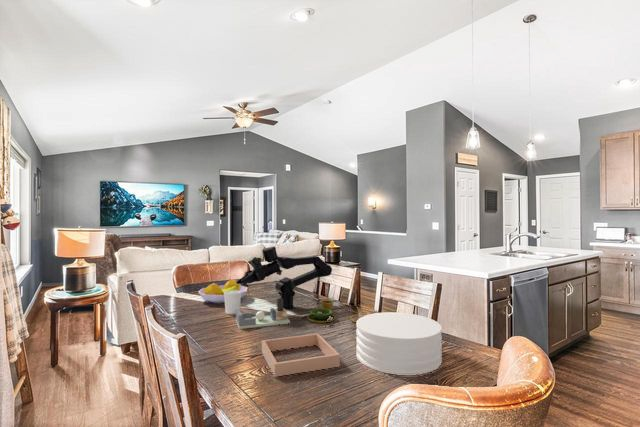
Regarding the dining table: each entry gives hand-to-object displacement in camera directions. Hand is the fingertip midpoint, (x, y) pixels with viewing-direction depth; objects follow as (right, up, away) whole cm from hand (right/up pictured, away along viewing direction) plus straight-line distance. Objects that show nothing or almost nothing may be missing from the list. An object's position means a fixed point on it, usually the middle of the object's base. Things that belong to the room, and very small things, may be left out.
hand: (238, 282), depth 171 cm
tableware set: (+51, -16, -10) cm, 54 cm away
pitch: (+13, -16, -11) cm, 23 cm away
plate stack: (+65, -16, -49) cm, 83 cm away
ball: (+12, -13, -11) cm, 21 cm away
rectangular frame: (+31, -16, -51) cm, 62 cm away
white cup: (-4, -16, +5) cm, 17 cm away
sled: (+20, -14, -8) cm, 26 cm away
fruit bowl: (-15, -16, +28) cm, 36 cm away
